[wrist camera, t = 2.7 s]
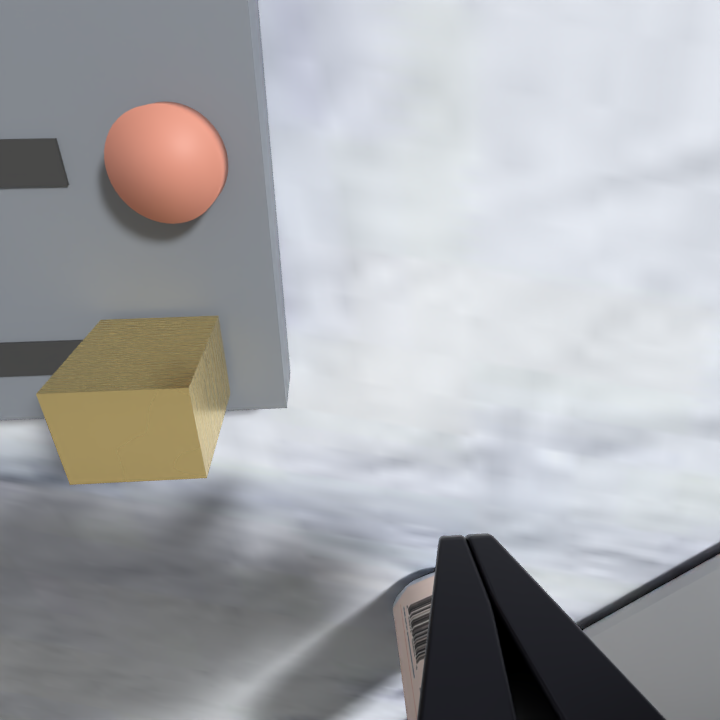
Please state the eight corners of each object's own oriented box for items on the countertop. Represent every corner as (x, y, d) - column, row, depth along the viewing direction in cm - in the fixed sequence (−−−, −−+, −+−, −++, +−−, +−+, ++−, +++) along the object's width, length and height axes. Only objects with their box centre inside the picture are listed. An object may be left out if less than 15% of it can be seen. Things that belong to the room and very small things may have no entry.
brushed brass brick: (122, 397, 15) (70, 484, 12) (100, 319, 13) (35, 394, 10) (230, 393, 15) (206, 477, 12) (218, 315, 14) (188, 388, 11)
